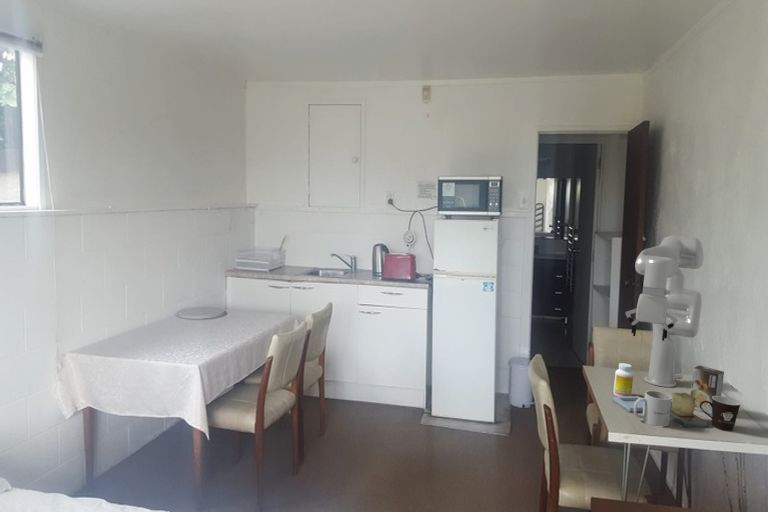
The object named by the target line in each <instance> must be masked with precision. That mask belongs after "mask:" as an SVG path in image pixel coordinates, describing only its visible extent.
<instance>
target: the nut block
mask: <svg viewBox="0 0 768 512" xmlns="http://www.w3.org/2000/svg"><path fill="white" fill-rule="evenodd" d="M695 400H696V398H695V397H693V396H691V395H690V394H689V393H687V392H672V408H671V412H672V413H673V414H675V415H677V416H678V417H680V418H685V417H693V414H694V411H695V409H694V404H695Z"/></svg>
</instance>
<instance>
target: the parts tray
mask: <svg viewBox="0 0 768 512" xmlns="http://www.w3.org/2000/svg"><path fill="white" fill-rule="evenodd" d="M639 398H642V397H640V396H639V395H637V396H632V395H631V396H612V402H614V403H615V404H617V405H618V406H620V407H621V408H622V407H623V409H624V410H625V409H626V410H625V411H629V412H628V413H634V404H635V402H636V400H637V399H639ZM643 406H644V401H640V402H639V403H638V405H637V413H643Z"/></svg>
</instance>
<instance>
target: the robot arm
mask: <svg viewBox="0 0 768 512" xmlns="http://www.w3.org/2000/svg"><path fill="white" fill-rule="evenodd" d="M703 263H704V250H703V244H702V242H701V240H700V239H699V238H698V237H695V236H684V235H683V236H682V235H668V236H666V237H664V238H663V239H662V241H661V243H660V244H659V245H656V246H651V247H649V248H645V249H643V250H642V251H641V252H640V253H639V254H638V256H637V257H636V259H635V265H634V267H635V268H634V269H635V271H636V273H638V274H639V275H643V276H644V277H643V286H642V293H640V294H639V296H638V298H637V299H638V301H637V305H636V308H634V309H631V310H628V311H627V310H626V311H625V316H626V318H627V320H628V322H629V323H630V324H631V334H632V336H633V337H636V335H637V327H638V325H637V324H638V323H639V322H641V323H643V322H644V323H649V324H652V343H651V351H650V357H649V358H650V359H649V368H648V374H646V375H645V376H644V377H643V379H644V381H645V382H646V383H648V384H651V385H654V386H658V387H666V388H672V387H675V386H677V382H676V381H675V380H683V377H684V376H683V375H682V374H676V373H674V372H675V363H676V356H677V355H676V354H677V343H676V340H675V339H674V337H673V336H678V337H684V338H690V339H692V338H695V337H696V336H697V334H698V332H699V326H700V318H701V309H702V294H701V293H700V291H698V290H695V289H689V288H684V284H685V275H684V273H683V271H682V270H681V269H682V268H683V269H690V270H699V269H700V268H701V267H702V266H703ZM669 309H670V310H676V311H681V312H682V311H683V312H686V313H687V314H683V313H677V312H673V311H668V310H669ZM632 314H635V318H634V319H633V318H632V317H631V315H632Z"/></svg>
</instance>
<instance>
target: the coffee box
mask: <svg viewBox="0 0 768 512" xmlns="http://www.w3.org/2000/svg"><path fill="white" fill-rule="evenodd" d="M724 376H725V371H723V370H718V369H716V368H710V367H707V366H704V365H696V366H695V367H693V369H692V377H691V378H692V379H691V387H690V394H689V395H691V396H693V397H695V398H696V400H695V404H694V411H699V412H701V413H704V412H703V411H702V410H701V408H700V403H701V402H702V401H709V402H711V403H712V397H713V396H722V392H723V383H724V382H723V381H724ZM701 407H702V409H703V410H704V411H705V412H706V413H708V414H709V415H710V416H712V407H711V405H710V404H709V403H707V402H705V403H703V404H702V405H701Z"/></svg>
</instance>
